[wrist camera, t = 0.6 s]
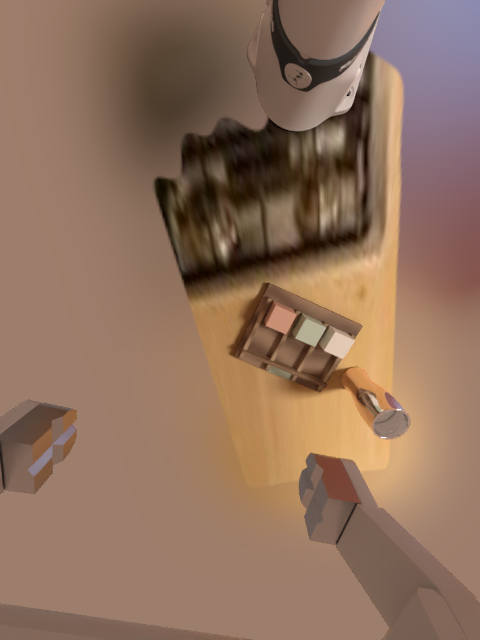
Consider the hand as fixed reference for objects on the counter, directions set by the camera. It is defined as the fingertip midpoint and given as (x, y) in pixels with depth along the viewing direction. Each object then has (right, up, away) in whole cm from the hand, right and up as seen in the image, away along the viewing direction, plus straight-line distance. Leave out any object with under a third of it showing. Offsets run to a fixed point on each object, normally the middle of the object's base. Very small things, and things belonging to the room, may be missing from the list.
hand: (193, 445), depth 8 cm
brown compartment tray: (+14, 0, +45) cm, 47 cm away
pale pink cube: (+22, 0, +43) cm, 48 cm away
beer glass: (+28, -9, +48) cm, 56 cm away
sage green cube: (+16, +3, +43) cm, 45 cm away
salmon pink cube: (+10, +6, +42) cm, 43 cm away
